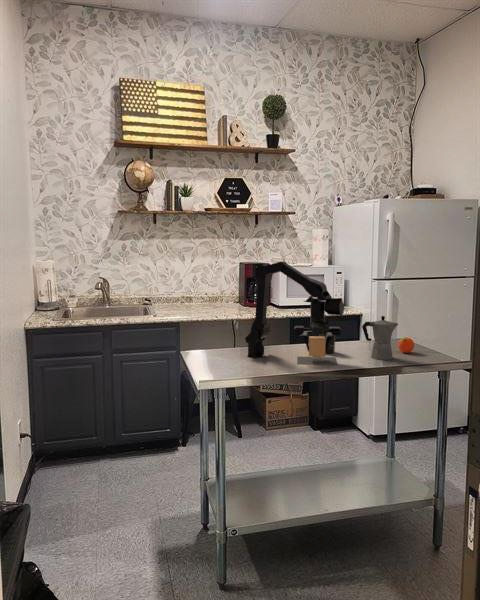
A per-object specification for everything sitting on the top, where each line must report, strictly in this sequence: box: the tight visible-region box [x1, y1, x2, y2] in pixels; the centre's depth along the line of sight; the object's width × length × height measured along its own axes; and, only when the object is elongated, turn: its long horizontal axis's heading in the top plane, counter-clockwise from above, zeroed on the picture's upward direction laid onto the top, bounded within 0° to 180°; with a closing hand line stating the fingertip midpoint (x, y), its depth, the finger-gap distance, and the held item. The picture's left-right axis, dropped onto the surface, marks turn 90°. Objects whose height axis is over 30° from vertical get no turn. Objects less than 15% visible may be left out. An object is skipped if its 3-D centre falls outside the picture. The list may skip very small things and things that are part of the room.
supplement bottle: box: [318, 326, 336, 355], centre depth 226 cm, size 7×7×12 cm
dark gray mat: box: [296, 355, 339, 366], centre depth 210 cm, size 16×14×1 cm
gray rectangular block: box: [312, 356, 321, 362], centre depth 210 cm, size 3×3×6 cm
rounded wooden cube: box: [308, 335, 326, 357], centre depth 209 cm, size 6×6×7 cm
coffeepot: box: [361, 315, 399, 361], centre depth 219 cm, size 15×9×18 cm, turn 93°
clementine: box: [397, 336, 415, 354], centre depth 229 cm, size 8×7×7 cm
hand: (316, 351), depth 209 cm, fingers closed on rounded wooden cube, 6 cm apart
